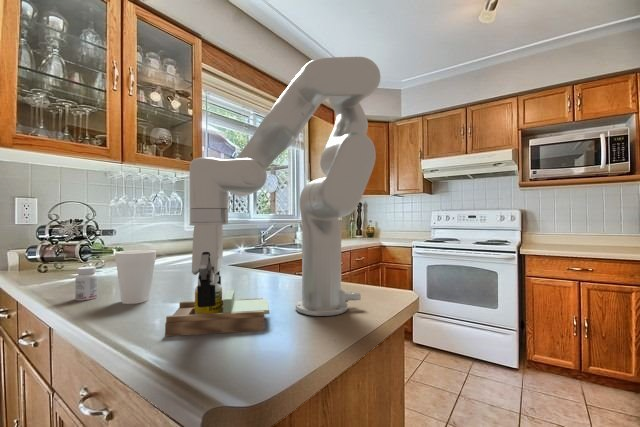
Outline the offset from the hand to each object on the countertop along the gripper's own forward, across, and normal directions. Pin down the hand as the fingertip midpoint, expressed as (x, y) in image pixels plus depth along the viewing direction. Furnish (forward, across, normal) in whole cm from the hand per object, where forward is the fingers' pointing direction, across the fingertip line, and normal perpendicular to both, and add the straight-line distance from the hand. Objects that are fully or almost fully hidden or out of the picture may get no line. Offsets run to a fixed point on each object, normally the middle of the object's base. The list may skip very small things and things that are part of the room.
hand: (210, 299), depth 65 cm
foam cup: (+5, -23, -22) cm, 32 cm away
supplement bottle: (+5, 0, 0) cm, 5 cm away
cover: (+2, 0, +7) cm, 8 cm away
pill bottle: (+4, -28, -36) cm, 46 cm away
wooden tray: (+5, 0, +2) cm, 5 cm away
